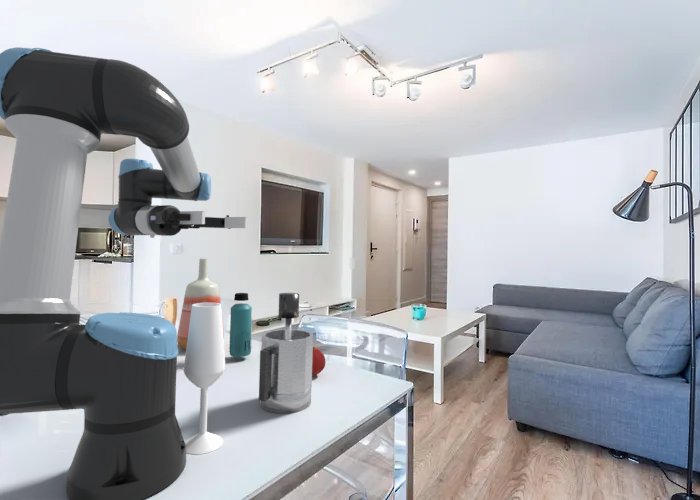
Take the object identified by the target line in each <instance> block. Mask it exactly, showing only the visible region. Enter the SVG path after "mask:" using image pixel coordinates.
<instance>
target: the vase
mask: <svg viewBox="0 0 700 500" xmlns="http://www.w3.org/2000/svg"><path fill="white" fill-rule="evenodd" d="M198 260H199V262H198V277H197V279H196V280H193V281H191V282H190V283H188V284H187V285H186V288H185V291H184V292H185V293H184V297H183V303H182V308H181V312H180V319H179V324H178V329H177V346H179V348H180V349H183V350H185V351H186V347H187V339H188V332H189V324H190V316H191V308H192V305H193V304H197V303H220V304H221V305H222V303H221V300H222V299H221V293H220V286H219V284H218V283H216V282H215V281H214V280H213V281H212V280H210V279H209V275H208V274H209V258H199V259H198ZM222 323H223V324H224V321H223V317H222ZM224 329H225V328H224V327H223V338H224V339H225V330H224Z"/></svg>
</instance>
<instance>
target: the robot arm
mask: <svg viewBox="0 0 700 500" xmlns="http://www.w3.org/2000/svg"><path fill="white" fill-rule="evenodd" d="M0 118H1V119H2V120H3V121H4V124H5V125H4V126H5V127H6V129H7V131H8V132H9V133H11V134H12V135H13V137H14V138H16V142H15V148H14V154H13V158H12V159H13V160H12V166H11V167H12V168H11V173H10V179H9V186H8V192H7V197H6V204H5V211H4V217H3V221H2V222H3V223H2V229H1V235H0V417H4V416H7V415H8V416H9V415H10V414H14V415H15V414H25V413H26V414H27V413H41V412H55V411H56V412H58V411H70V410H83V411H84V414H83V415H84V416H83V417H84V418H83V420H84V421H83V432H82V435H81V438H80V439H79V442H78V444H77V448H76V450H75V453H74V456H73V458H72V462H71V463H70V466H69V468H68V471H67V475H66V495H67V497H68V499H69V500H143V499H146V498H148V497H150V496H153V495H155V494H157V493H159V492H160V491H162V490H165V489H166V488H167V487H168V486H170V485H172V484H173V483H174V482H175V481H177V479H179V477H180V476H181V474H183V472H184V470H185V467H186V465H187V453H186V445H185V440H184V438H183V434H182V431H181V427H180V424H179V421H178V419H177V415H176V396H177V393H176V392H177V370H178V369H177V367H178V361H177V360H178V355H179V348H178V343H177V334H178V330H177V328H176V326H175V324H174V323H173V322H171V321H170V320H168V319H166V318H164V317H161V316H157V315H152V314H148V313H139V312H103V313H98V314H93V315H92V316H90V317H89V318H88V319H87V321H86V323H85V324H80V320H81V311H80V310H79V309H78V308H77V307H76V306H75V305H73V304H72V302H71V293H72V292H71V291H72V284H73V283H72V282H73V276H74V266H75V260H76V259H75V257H76V251H77V250H76V249H77V241H78V234H79V224H80V217H81V209H82V201H83V192H84V183H85V175H86V165H87V160H88V159H87V158H88V155H89V154H91V153H93V152H95V151H96V150H98V149H99V148H100V145H101V137H102V134H104V135H106V134H107V135H115V136H128V137H134V138H137V139H138V140H139V141H140V142H141V143H142V144H144V145H145V146H146V147H149V149H150V151H151V152H152V154H153V155H154V157H155V158H156V159H155V160H156V161H157V163H158V164H159V166H160V168H161V169H157V168H154V166H153V163H152V162H150V161H148V160H144V159H139V158H125V159H122V160H121V161H120V164H119V171H118V172H119V174H118V176H117V177H118V201H117V207H115V208H113V209H112V210H111V211H110V213H109V215H108V219H107V220H108V225H109V226H110V228H111V229H112V231H114V232H116V233H117V234H120V235H126V236H149V238H155V237H156V236H162V237H163V236H165V237H167V236H168V237H170V236H171V237H172V236H176V235H177V234H178V233H180V231H181V230H188V229H200V228H206V229H207V228H211V229H229V230H230V229H248V221H249V220H248V217H247V216H230V215H229V214H226V216H224V217H211V216H206V211H204V210H196V211H195V210H193V211H189V210H186V211H185V210H184V211H181V210H180V209H179V208H178V207H176V206H174V205H167V204H166V205H165V204H164V205H152V204H153V203H152V201H153V199H162V200H163V199H167V200H178V201H179V200H181V201H193V202H198V201H202V202H204V201H205V202H206V201H209V200H210V198H211V195H212V179H211V176H210V174H208V173H205V172H202V171H199V168H198V165H197V162H196V159H195V156H194V152H193V151H192V146H191V144H190V141H189V139H188V138H189V137H188V136H189V132H190V123H189V120H188V116H187V114H186V111H185V110H184V107H183V106H182V103H180V101H179V100H178V98H177V97H176V96H175V95H174V94H173V93H172V91H171V90H170V89H169V88H167V87H166V86H165V85H164V84H163V83H162V82H161V81H160V80H159V79H157V78H156V77H154V76H153V75H151V74H150V73H149V72H148V71H146V70H144V69H142V68H140V67H139V66H136V65H134V64H132V63H129V62H126V61H123V60H119V59H113V58H111V59H108V58H101V57H94V56H86V55H77V54H71V53H66V52H65V53H64V52H63V53H62V52H58V51H57V52H56V51H55V52H54V51H52V50H50V49H46V48H42V47H33V48H32V47H31V48H30V47H29V48H28V47H18V46H17V47H13V48H12V47H11V48H7V49H5V50H3V51H2V52H0Z"/></svg>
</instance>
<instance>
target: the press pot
mask: <svg viewBox="0 0 700 500" xmlns="http://www.w3.org/2000/svg"><path fill="white" fill-rule="evenodd" d="M260 345H261V349H260V351H259V352H260V353H259V377H258V378H259V383H258V401H259V402H260V403H259V404H260V407H261V408H262V409H263V410H265V411H266V412H270V413H274V414H293V413H298V412H301V411H303V410H306V409H307V408H309V407H310V405H311V404H312V383H313V382H312V381H313V375H312V358H313V347H314V333H313V332H311V331H308V330H304V329H297V328H295V329H294V328H291V340H285V328H282V329H273V330H269V331H266V332H263V333H262V335H261V344H260Z"/></svg>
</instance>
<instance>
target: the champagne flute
mask: <svg viewBox="0 0 700 500" xmlns="http://www.w3.org/2000/svg"><path fill="white" fill-rule="evenodd" d="M222 318H223V310H222V303H221V304H220V303H197V304H193V305H192V308H191V316H190V324H189V332H188V339H187V347H186V350H185V356H184V365H183V373H184V376H185V377H186V379H188V381H189V382H190V383H192V384H193V385H194V386H195V387H197V388H199V389H200V398H199V400H200V402H199V403H200V404H199V432H198V433H196V434H194V435H193V436H191V437H189V438H188V439H186V440H184V442H185V445H186V454H189V455H203V454H208V453H211V452H213V451H215V450H217V449H219V448H220V447H221V446H222V445H223V442H224V439H223V437H221V436H220V435H218V434H215V433H212V432H209V431H208V428H207V427H208V403H209V402H208V397H209V396H208V393H209V392H208V391H209V387H211V386H213V385H214V384H215V383H216V382H217V381H218V380H219V379H220V378H221V377H222V375H223V373H224V371H225V369H226V357H225V356H226V355H225V342H224V341H225V340H224V339H225V337H224V338H223V328H224V322H223V323H222Z"/></svg>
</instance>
